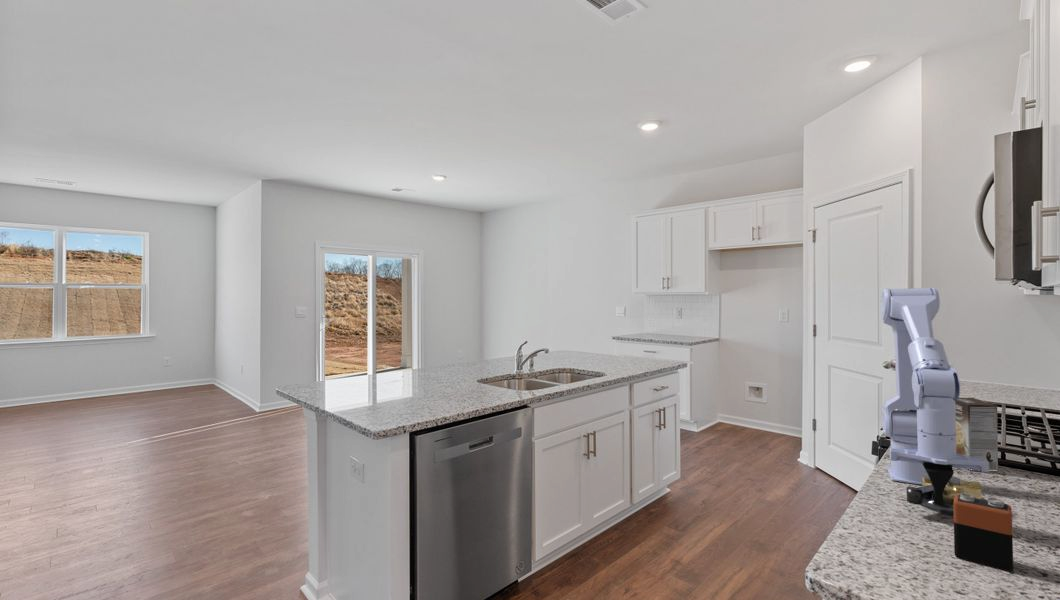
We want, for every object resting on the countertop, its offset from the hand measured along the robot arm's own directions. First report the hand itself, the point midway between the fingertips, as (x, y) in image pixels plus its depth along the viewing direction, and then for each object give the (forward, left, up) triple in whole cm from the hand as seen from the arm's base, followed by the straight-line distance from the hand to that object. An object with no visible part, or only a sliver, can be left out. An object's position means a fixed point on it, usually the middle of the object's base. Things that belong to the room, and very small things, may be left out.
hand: (937, 503), depth 94 cm
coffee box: (-40, +12, -3) cm, 42 cm away
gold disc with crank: (-5, +1, -1) cm, 5 cm away
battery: (+16, +3, -3) cm, 17 cm away
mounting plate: (-8, +3, -3) cm, 9 cm away
